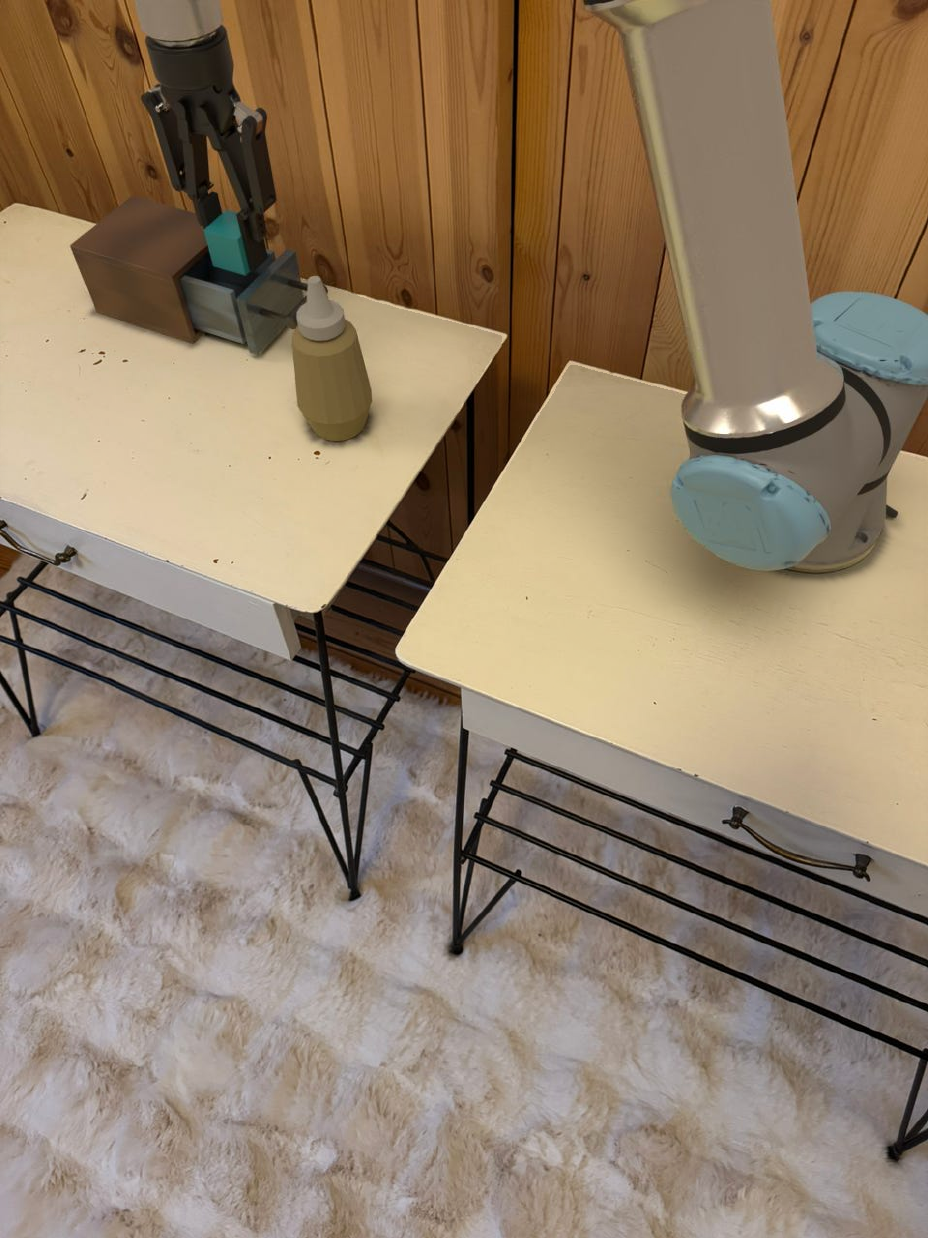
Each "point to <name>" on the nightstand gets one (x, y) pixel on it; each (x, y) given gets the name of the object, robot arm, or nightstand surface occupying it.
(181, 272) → the drawer cabinet
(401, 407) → the nightstand surface
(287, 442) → the nightstand surface
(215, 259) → the teal rectangular block
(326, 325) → the squeeze bottle
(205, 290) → the grey drawer
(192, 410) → the nightstand surface
